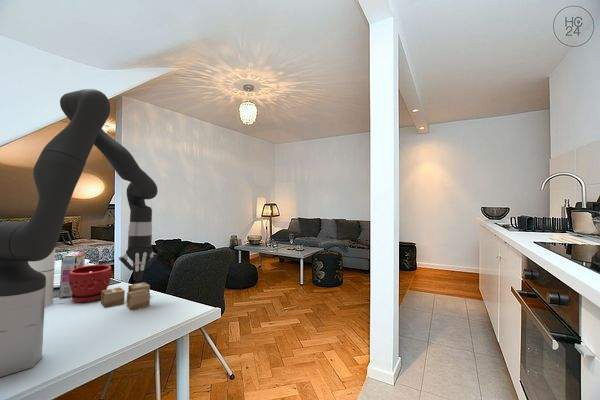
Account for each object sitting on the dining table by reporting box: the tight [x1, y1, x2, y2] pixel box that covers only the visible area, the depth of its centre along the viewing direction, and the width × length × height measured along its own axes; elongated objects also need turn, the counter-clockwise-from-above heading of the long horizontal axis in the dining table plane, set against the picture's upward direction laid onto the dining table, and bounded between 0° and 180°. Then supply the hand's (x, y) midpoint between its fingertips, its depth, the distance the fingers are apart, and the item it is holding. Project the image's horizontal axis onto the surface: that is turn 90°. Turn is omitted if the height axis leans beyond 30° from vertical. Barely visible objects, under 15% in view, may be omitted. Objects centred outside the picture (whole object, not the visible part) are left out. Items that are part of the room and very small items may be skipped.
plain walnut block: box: [126, 289, 151, 311], centre depth 97 cm, size 6×6×5 cm
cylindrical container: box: [28, 247, 56, 307], centre depth 96 cm, size 7×7×25 cm
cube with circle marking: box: [127, 281, 151, 294], centre depth 106 cm, size 6×6×5 cm
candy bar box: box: [58, 251, 86, 299], centre depth 109 cm, size 11×5×16 cm, turn 25°
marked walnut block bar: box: [100, 287, 126, 309], centre depth 99 cm, size 6×6×5 cm
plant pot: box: [69, 264, 112, 303], centre depth 104 cm, size 13×13×12 cm
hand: (138, 280), depth 97 cm, fingers closed
